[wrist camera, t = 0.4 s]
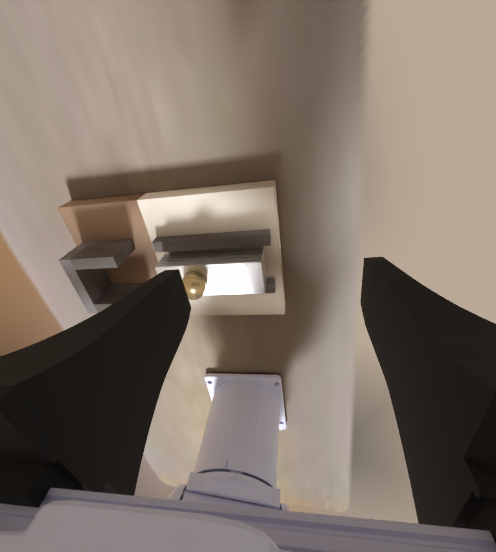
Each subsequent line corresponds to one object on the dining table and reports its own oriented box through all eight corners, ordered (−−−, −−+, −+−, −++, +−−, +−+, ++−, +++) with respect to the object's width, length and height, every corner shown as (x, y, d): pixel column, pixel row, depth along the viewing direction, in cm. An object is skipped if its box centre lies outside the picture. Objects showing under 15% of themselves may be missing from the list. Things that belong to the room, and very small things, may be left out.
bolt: (267, 275, 21) (263, 303, 18) (176, 278, 22) (159, 305, 19) (263, 245, 19) (259, 270, 17) (167, 251, 21) (148, 275, 18)
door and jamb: (285, 302, 24) (284, 338, 20) (121, 306, 26) (96, 338, 23) (275, 180, 18) (271, 201, 15) (71, 200, 21) (28, 222, 18)
